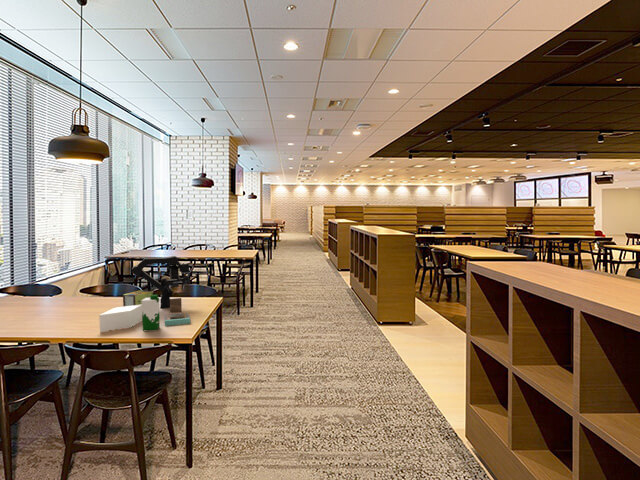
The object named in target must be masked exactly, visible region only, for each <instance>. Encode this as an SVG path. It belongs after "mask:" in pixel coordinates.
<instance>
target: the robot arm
mask: <svg viewBox="0 0 640 480" xmlns="http://www.w3.org/2000/svg"><path fill="white" fill-rule="evenodd" d="M153 264H155V265H156V264H157V265H158V264H164V265H167V266H166V269H167V270H169V274H170V275H169V277H170V279H167V277H166V278H164V277H163V278H161V279H160V282H159V281H158V280H156V279H155V278H154V277H152V276H151V275H149V274H148V273H147V272H146V271H145V270H144V269H145V267H146V266H147V265H153ZM131 272H132V274H133V275H134V276H137V277H139V278H142V279H143V280H145V281H147V282H148V283H149V284H151V285H152V286H153V287H155V288H156V289H158V290H159V291H160V298H159V304H160V306H159V309H166V308H167V309H168V308H169V309H170V299H171V297H172V296H173V290H172V288H178V287H180V283H181V291H182V292H183V290H184V287H185V285H188V284H189V285H190V277H189V276H188V275H187V276H183V277H182V278H180V274H189V273H190V264H189V263H181V262H180V261H179V258H178V257H177V256H176V255H171V256H167V257H151V258H150V257H149V258H148V257H145V258H143V259H142V260H141V261H140V262H139V263H138V264H137V265H134V266H133V267H132V268H131Z"/></svg>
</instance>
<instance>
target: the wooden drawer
mask: <svg viewBox="0 0 640 480" xmlns="http://www.w3.org/2000/svg"><path fill="white" fill-rule="evenodd" d="M182 304H183V303H182V297H178V298H177V297H176V298H170V308H169V320H173V319H183V318H185V317H184V312H183V309H182Z"/></svg>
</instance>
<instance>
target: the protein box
mask: <svg viewBox="0 0 640 480" xmlns="http://www.w3.org/2000/svg"><path fill="white" fill-rule="evenodd" d="M153 292H154V291H153V290H146V289H145V290H144V289H140V290H136V291H133V292H129V293H124V294H122V301H123V302H122V307H125V306H133V305H140V304H142V302H141V301H142V300H143V299H145V298H150V296H151V295H154V294H153Z"/></svg>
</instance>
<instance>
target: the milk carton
mask: <svg viewBox="0 0 640 480" xmlns="http://www.w3.org/2000/svg"><path fill="white" fill-rule="evenodd" d="M141 302H142V321H141V322H142V331H144V330H148V331H147V332H150V331H149V330H156V331H157V330H158V329H159V328H160V325H161V324H160V323H161V322H160V321H161V320H160V297H159V294H153V295H151V296H150V298H145V299H143V300H142V301H141ZM144 332H145V331H144Z"/></svg>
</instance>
